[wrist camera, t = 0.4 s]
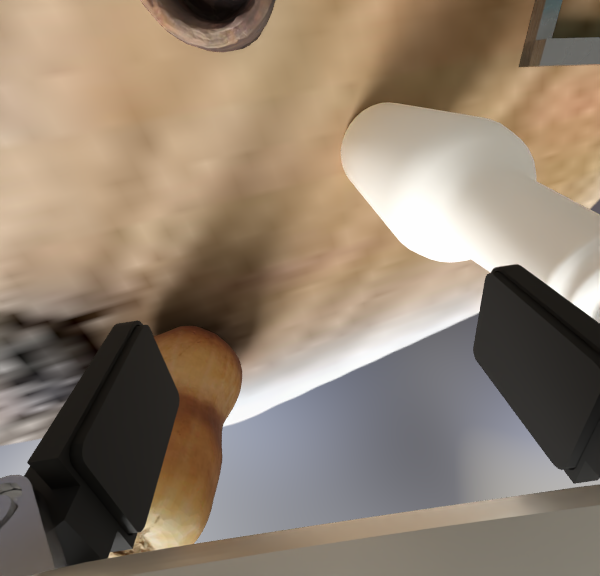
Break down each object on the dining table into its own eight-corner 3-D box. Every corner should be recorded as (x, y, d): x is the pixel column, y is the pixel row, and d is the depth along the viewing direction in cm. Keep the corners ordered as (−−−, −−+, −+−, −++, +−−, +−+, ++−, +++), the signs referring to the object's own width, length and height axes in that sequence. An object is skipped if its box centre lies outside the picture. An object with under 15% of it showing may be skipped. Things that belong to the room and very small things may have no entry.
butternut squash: (225, 296, 44) (184, 495, 23) (255, 369, 51) (245, 576, 30) (123, 320, 45) (-9, 535, 24) (166, 390, 52) (94, 605, 31)
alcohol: (437, 147, 37) (817, 297, 11) (374, 206, 40) (564, 432, 14) (387, 80, 34) (777, 75, 8) (321, 149, 36) (448, 315, 11)
